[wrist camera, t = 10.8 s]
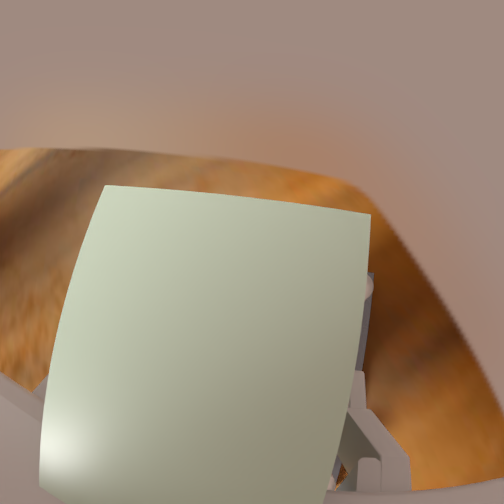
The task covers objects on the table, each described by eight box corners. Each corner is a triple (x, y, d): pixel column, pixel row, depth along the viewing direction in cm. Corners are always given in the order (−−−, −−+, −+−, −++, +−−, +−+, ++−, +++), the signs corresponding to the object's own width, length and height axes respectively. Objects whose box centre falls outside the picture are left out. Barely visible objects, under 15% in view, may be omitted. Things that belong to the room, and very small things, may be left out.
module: (204, 422, 17) (37, 505, 4) (228, 311, 19) (103, 184, 6) (290, 440, 16) (288, 598, 3) (313, 325, 18) (373, 215, 5)
